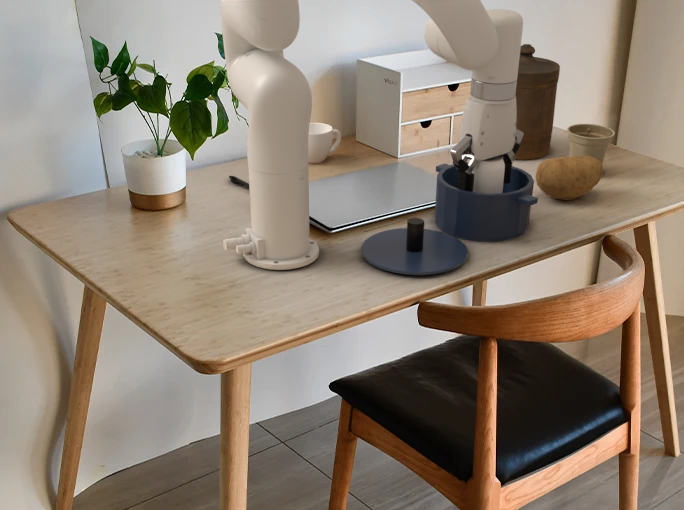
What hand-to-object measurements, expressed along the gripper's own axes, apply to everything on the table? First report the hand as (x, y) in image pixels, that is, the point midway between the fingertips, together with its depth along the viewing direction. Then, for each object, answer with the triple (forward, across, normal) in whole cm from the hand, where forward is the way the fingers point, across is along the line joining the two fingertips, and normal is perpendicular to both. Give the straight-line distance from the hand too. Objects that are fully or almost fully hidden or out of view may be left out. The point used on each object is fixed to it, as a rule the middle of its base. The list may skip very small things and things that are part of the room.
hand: (483, 187), depth 163 cm
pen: (+7, +23, -39) cm, 46 cm away
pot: (+7, 0, 0) cm, 7 cm away
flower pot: (+7, -37, -5) cm, 38 cm away
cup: (+7, +1, -45) cm, 45 cm away
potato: (+7, -22, +2) cm, 24 cm away
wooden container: (+7, -36, -23) cm, 44 cm away
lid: (+6, +19, +2) cm, 20 cm away
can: (+6, 0, 0) cm, 6 cm away
